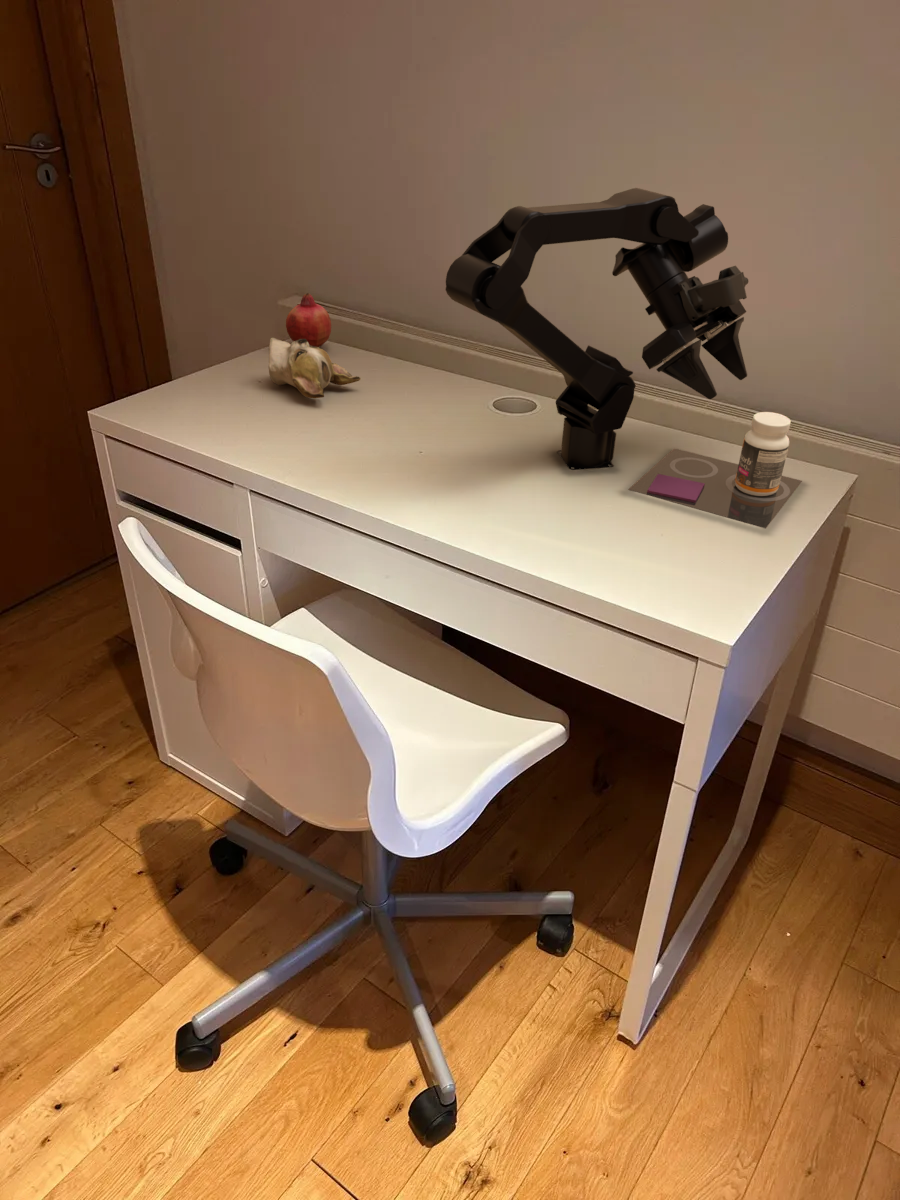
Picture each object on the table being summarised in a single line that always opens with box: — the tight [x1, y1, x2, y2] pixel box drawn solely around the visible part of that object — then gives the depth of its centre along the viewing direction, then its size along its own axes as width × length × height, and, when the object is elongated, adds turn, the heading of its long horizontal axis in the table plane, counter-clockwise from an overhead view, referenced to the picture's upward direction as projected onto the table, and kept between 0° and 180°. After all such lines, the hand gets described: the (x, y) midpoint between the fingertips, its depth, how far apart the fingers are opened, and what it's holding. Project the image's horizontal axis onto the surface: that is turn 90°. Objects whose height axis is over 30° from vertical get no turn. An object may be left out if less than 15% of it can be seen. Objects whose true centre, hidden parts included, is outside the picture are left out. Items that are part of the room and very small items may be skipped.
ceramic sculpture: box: [267, 337, 361, 399], centre depth 151 cm, size 11×9×15 cm
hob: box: [628, 447, 803, 529], centre depth 126 cm, size 16×18×1 cm
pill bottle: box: [735, 411, 792, 496], centre depth 122 cm, size 6×6×10 cm
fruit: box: [285, 292, 332, 348], centre depth 167 cm, size 8×8×10 cm
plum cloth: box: [647, 474, 705, 503], centre depth 124 cm, size 6×6×1 cm
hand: (729, 387), depth 122 cm, fingers open, 9 cm apart
